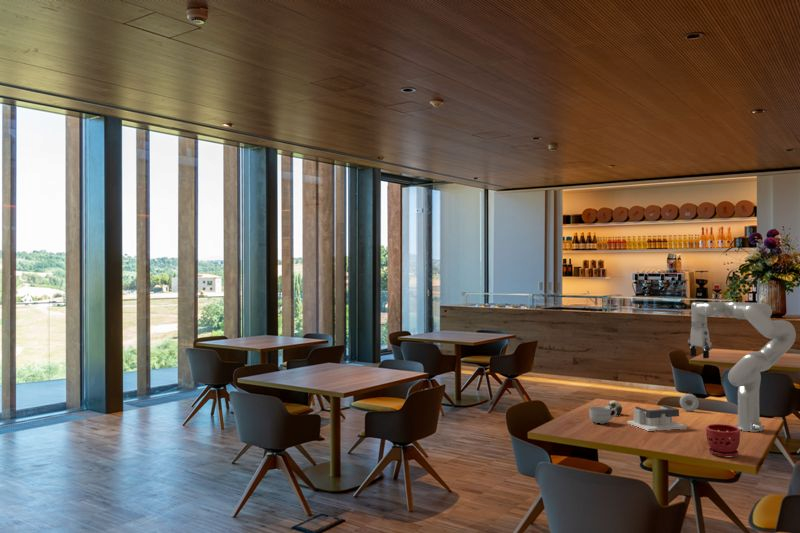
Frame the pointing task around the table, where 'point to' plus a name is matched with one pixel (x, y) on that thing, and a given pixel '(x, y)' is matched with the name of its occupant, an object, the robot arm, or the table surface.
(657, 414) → the glasses
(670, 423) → the white block structure
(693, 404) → the donut
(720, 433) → the plant pot
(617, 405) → the skull
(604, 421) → the teacup
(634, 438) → the table surface
